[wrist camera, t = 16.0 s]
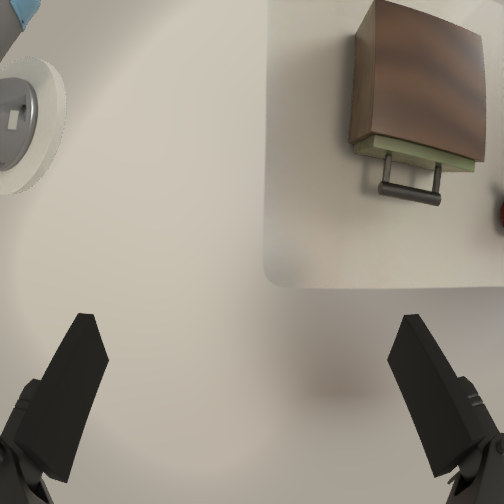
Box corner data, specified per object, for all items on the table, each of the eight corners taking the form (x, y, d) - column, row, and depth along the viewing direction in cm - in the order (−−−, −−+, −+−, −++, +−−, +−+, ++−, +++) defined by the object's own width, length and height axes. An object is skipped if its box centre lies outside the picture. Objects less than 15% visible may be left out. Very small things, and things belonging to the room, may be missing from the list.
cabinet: (442, 163, 34) (484, 162, 24) (348, 142, 35) (370, 131, 25) (445, 59, 31) (481, 36, 21) (355, 33, 31) (374, -3, 22)
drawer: (436, 206, 34) (469, 213, 27) (349, 189, 35) (367, 192, 27) (444, 71, 30) (474, 53, 23) (361, 47, 31) (378, 20, 23)
